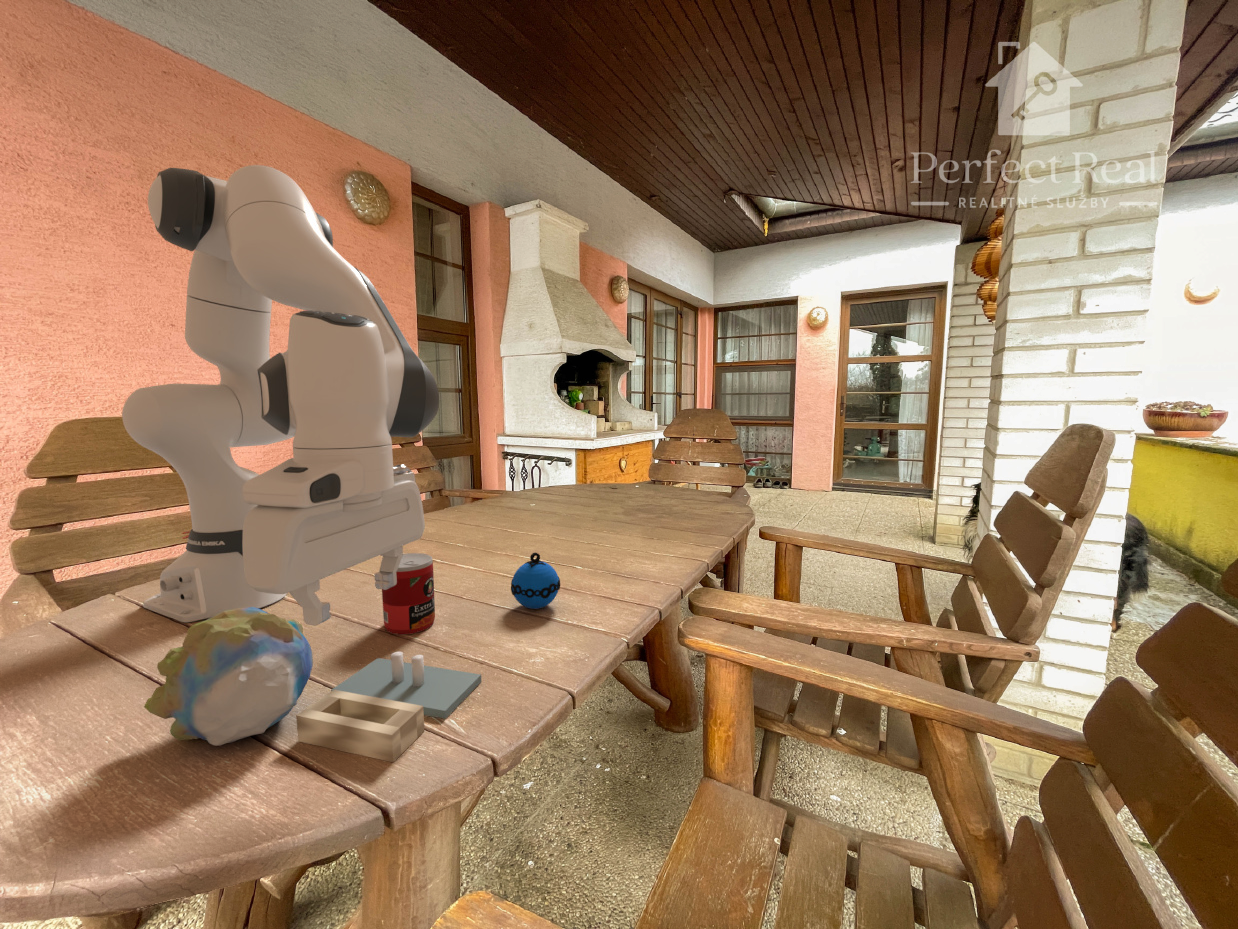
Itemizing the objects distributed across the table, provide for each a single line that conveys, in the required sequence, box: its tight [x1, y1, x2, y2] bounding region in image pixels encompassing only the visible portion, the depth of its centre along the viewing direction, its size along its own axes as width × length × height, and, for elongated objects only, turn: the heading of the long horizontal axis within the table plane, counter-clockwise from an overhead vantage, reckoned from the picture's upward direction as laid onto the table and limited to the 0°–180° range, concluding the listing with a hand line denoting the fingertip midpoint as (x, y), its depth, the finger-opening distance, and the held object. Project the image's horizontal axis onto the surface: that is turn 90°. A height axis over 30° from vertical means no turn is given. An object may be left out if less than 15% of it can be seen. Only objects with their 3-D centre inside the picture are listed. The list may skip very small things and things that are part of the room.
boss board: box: [330, 651, 483, 720], centre depth 63 cm, size 16×8×4 cm, turn 75°
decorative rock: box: [143, 607, 314, 747], centre depth 56 cm, size 14×16×15 cm
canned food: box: [381, 552, 436, 635], centre depth 81 cm, size 8×8×11 cm
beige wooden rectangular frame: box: [295, 690, 425, 763], centre depth 54 cm, size 12×5×3 cm, turn 75°
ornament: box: [510, 552, 561, 610], centre depth 88 cm, size 9×9×10 cm
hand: (354, 603), depth 53 cm, fingers open, 8 cm apart
